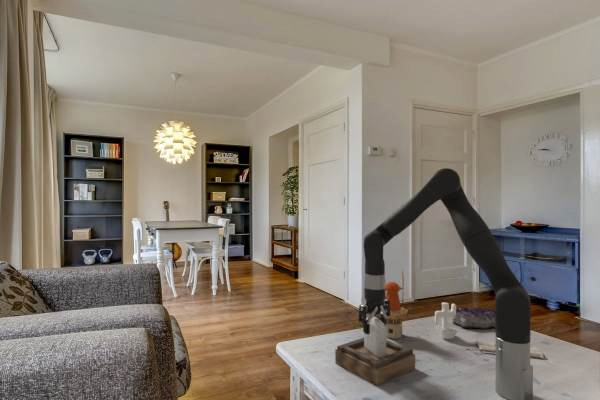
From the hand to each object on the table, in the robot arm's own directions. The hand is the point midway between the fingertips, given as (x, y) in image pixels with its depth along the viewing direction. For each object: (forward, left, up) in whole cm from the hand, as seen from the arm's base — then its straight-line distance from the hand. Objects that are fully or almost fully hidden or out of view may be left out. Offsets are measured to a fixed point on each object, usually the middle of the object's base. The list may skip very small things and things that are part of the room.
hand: (374, 331), depth 128 cm
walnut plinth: (0, 0, -13) cm, 13 cm away
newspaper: (-23, -53, -13) cm, 60 cm away
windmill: (+14, -28, -13) cm, 34 cm away
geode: (0, -71, -13) cm, 72 cm away
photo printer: (0, 0, -8) cm, 8 cm away
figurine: (0, -46, -13) cm, 48 cm away
